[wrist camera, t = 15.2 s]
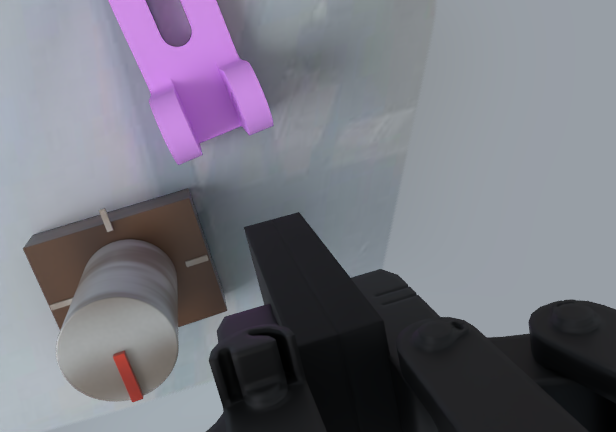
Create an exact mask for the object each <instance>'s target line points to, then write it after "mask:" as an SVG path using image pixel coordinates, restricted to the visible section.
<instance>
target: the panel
mask: <svg viewBox="0 0 616 432" xmlns="http://www.w3.org/2000/svg"><path fill="white" fill-rule="evenodd" d="M99 212H100V215H98V216H95V217H92V218H88V219H85V220H82V221H79V222H75V223H72V224H69V225H65V226H62V227H59V228H55V229H52V230H49V231H45V232H42V233H39V234H35V235H33V236H32V237H31V238H30V240H29V241H28V243H27V244H26V245H25V247H24V248H23V250H24V252H25V254H26V257H27V259H28V261H29V263H30V265H31V268H32V270H33V272H34V274H35V276H36V278H37V281H38V283H39V285H40V287H41V289H42V292H43V294H44V296H45V298H46V300H47V303H48V305H49V307H50V309H51V311H52V313H53V316H54V318H55V320H56V322H57V324H58V327H59V329H60V330H61V328H62V325H63V323H64V320H65V317H66V315H67V312H68V310H69V307H70V305H71V302H72V300H73V297H74V295H75V292H76V289H77V287H78V284H79V282H80V279H81V277H82V274H83V272H84V269H85V267H86V264H87V263H88V261H89V259H90V258H91V257H92V256H93V255H94V254H95V253H96V252H97V251H98V250H99V249H101V248H102V247H104V246H106V245H107V244H110V243H112V242H115V241H119V240H126V239H134V240H141V241H145V242H148V243H151V244H153V245H155V246H157V247H158V248H160V249H161V250H162V251H163V252H165V253H166V254H167V256H168V257H169V258H170V259H171V261H172V263H173V265H174V267H175V270H176V273H177V290H178V327H180V326H183V325H186V324H189V323H192V322H195V321H198V320H201V319H204V318H207V317H210V316H213V315H216V314H219V313H222V312H225V311H227V306H226V301H225V296H224V293H223V290H222V287H221V284H220V281H219V278H218V275H217V272H216V269H215V266H214V263H213V260H212V257H211V254H210V251H209V248H208V245H207V242H206V239H205V236H204V233H203V230H202V227H201V224H200V221H199V218H198V215H197V213H196V210H195V207H194V204H193V201H192V198H191V195H190V192H189V189H185V190H181V191H178V192H175V193H171V194H168V195H165V196H161V197H158V198H155V199H151V200H148V201H145V202H141V203H138V204H135V205H132V206H128V207H125V208H122V209H118V210H115V211H112V212H108V213H107V212H106V209H105V208H104V209H100V210H99Z"/></svg>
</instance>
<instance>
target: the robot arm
mask: <svg viewBox="0 0 616 432" xmlns="http://www.w3.org/2000/svg"><path fill="white" fill-rule="evenodd" d="M244 229H245V233H246V237H247V241H248V244H249V248H250V252H251V256H252V260H253V263H254V267H255V271H256V275H257V279H258V282H259V286H260V290H261V294H262V298H263V301H264V305H263V306H260V307H257V308H253V309H250V310H247V311H243V312H240V313H236V314H233V315H230V316H226V317H224V319H223V321H222V323H221V324H220V326H219V328H218V330H217V336H218V344H217V345H216V346H215V347H214V349H213V350H212V351H211V354H210V358H209V363H210V366H211V369H212V373H213V376H214V379H215V382H216V386H217V388H218V392H219V395H220V398H221V402H222V405H223V410H224V412H223V414H222V415H221V417H220V418H219V419H218V421H217V422H216V423H215V424H214V425H213V426H212V427H211V428H210V429H209V430H207V431H206V432H616V310H615V309H613V308H610V307H607V306H605V305H601V304H597V303H593V302H589V301H576V300H564V301H557V302H553V303H550V304H548V305H545V306H542V307H540V308H538V309H537V310H536V311H535V312H533V313H532V314H531V317H530V320H529V330H530V334H523V335H514V336H506V337H492V338H487V337H485V336H484V335H483V334H482V333H481V332H480V331H479V330H478V329H477V328H475V327H474V326H473V325H471V324H469V323H468V322H466V321H464V320H460V319H456V318H451V317H440V316H439V315H438V314H437V313H436V312H435V311H434V310H433V309H432V308H431V307H430V306H429V305H428V304H427V303H426V302H425V301H424V300H423V299H421V297H420V296H419V295H416V292H415V291H413V290H412V289H411V287H408V284H406V282H405V281H404V280H402V278H400V277H399V276H398V275H396V274H394V273H390V272H388V271H385V270H382V269H379V270H376V271H372V272H369V273H366V274H362V275H359V276H355V277H352V278H350V277H349V276H348V274H347V273H346V272H345V270H344V269H343V268H342V267H341V265H340V264H339V263H338V262H337V260H336V259H335V258H334V256H333V255H332V254H331V253H330V251H329V250H328V249H327V247H326V246H325V245H324V244H323V242H322V241H321V240H320V238H319V237H318V236H317V235H316V233H315V232H314V231H313V230H312V228H311V227H310V226H309V224H308V223H307V222H306V221H305V219H304V218H303V217H302V215H301V214H300V213H299V212H298V213H294V214H291V215H287V216H283V217H280V218H276V219H272V220H269V221H265V222H261V223H258V224H254V225H250V226H247V227H244Z"/></svg>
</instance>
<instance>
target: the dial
mask: <svg viewBox="0 0 616 432" xmlns="http://www.w3.org/2000/svg"><path fill="white" fill-rule="evenodd" d="M177 356H178V290H177V273H176V270H175V267H174V265H173V263H172V261H171V259H170V258H169V257H168V256H167V254H166V253H165V252H163V251H162V250H161V249H160V248H158V247H157V246H155V245H153V244H151V243H148V242H145V241H141V240H134V239H126V240H119V241H115V242H112V243H110V244H107V245H106V246H104V247H102V248H101V249H99V250H98V251H97V252H96V253H95V254H94V255H93V256H92V257H91V258H90V259H89V261H88V263H87V264H86V267H85V269H84V272H83V274H82V277H81V279H80V282H79V284H78V287H77V289H76V292H75V295H74V297H73V300H72V302H71V305H70V307H69V310H68V312H67V315H66V317H65V320H64V323H63V325H62V328H61V330H60V333H59V335H58V339H57V343H56V358H57V362H58V365H59V368H60V370H61V372H62V374H63V376H64V377H65V378H66V380H67V381H68V382H69V383H70V384H71V385H72V386H73V387H74V388H75V389H77V390H78V391H80V392H81V393H83V394H85V395H87V396H89V397H92V398H95V399H99V400H104V401H126V400H131V401H132V402H135V401H138V400H141V399H143V395H146V394H148V393H149V392H151V391H153V390H154V389H156V388H157V387H158V386H159V385H161V384H162V383H163V382H164V381H165V380H166V378H167V377H168V376H169V374H170V373H171V371H172V370H173V368H174V366H175V363H176V360H177Z"/></svg>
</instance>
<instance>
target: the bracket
mask: <svg viewBox="0 0 616 432" xmlns="http://www.w3.org/2000/svg"><path fill="white" fill-rule="evenodd" d="M108 1H109V3H110V5H111V7H112V10H113V12H114V14H115V16H116V18H117V20H118V23H119V25H120V27H121V29H122V31H123V33H124V36H125V38H126V40H127V42H128V44H129V46H130V49H131V51H132V53H133V55H134V57H135V60H136V62H137V64H138V66H139V68H140V70H141V73H142V75H143V77H144V79H145V81H146V83H147V86H148V88H149V90H150V93H151V97H150V99H149V103H150V106H151V109H152V112H153V115H154V117H155V119H156V122H157V124H158V127H159V129H160V131H161V133H162V136H163V138H164V140H165V142H166V144H167V146H168V148H169V150H170V152H171V154H172V156H173V158H174V159H175V161H176V163H177V164H178V165H179V164H182V163H184V162H187V161H189V160H192V159H194V158H196V157H199V156H201V155H202V151H201V147H200V143H201V142H204V141H206V140H209V139H211V138H214V137H216V136H218V135H221V134H223V133H226V132H228V131H231V130H233V129H235V128H238V127H240V126H242V127H243V128H244V129H245V131H246V132H247V133H248V134H249V135H252V134H254V133H257V132H259V131H262V130H264V129H267V128H269V127H271V126H273V119H272V115H271V112H270V109H269V106H268V103H267V101H266V98H265V96H264V93H263V91H262V88H261V86H260V84H259V81H258V79H257V77H256V75H255V73H254V71H253V69H252V67H251V65H250V64H249V62H248V61H245V60H241V59H240V58H239V56H238V54H237V52H236V49H235V47H234V44H233V42H232V39H231V37H230V34H229V32H228V29H227V26H226V24H225V21H224V19H223V16H222V14H221V11H220V9H219V6H218V4H217V1H216V0H180V1H181V4H182V6H183V9H184V11H185V13H186V16H187V18H188V21H189V23H190V25H191V29H192V34H191V38H190V40H189V41H188V42H187V43H186V44H185V45H183V46H180V47H174V46H171V45H169V44H167V43H166V42H165V41H164V40H163V39H162V37H161V35H160V32H159V30H158V28H157V26H156V23H155V21H154V19H153V16H152V14H151V12H150V10H149V7H148V5H147V3H146V0H108Z"/></svg>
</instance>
